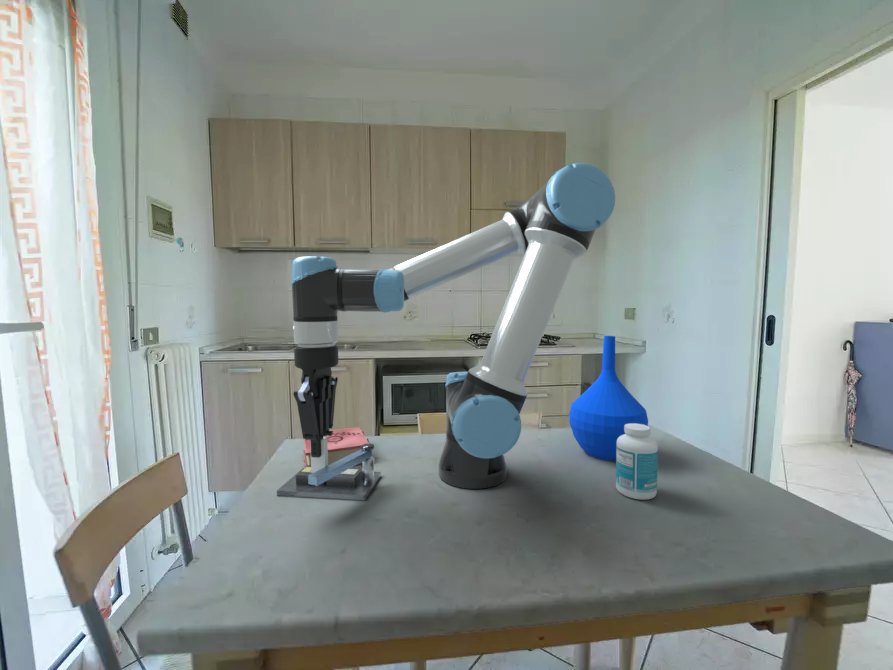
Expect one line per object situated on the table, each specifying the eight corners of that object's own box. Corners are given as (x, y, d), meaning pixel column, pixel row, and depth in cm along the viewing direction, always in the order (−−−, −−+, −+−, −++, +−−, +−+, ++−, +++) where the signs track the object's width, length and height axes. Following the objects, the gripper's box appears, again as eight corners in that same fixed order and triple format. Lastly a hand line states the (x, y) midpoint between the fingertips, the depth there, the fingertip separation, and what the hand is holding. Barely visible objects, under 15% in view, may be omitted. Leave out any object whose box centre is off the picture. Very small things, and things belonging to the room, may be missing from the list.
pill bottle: (655, 488, 81) (657, 423, 80) (657, 504, 74) (660, 434, 73) (615, 481, 84) (617, 419, 83) (614, 496, 77) (616, 429, 77)
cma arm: (367, 452, 83) (366, 442, 83) (376, 454, 82) (376, 444, 82) (307, 483, 69) (306, 471, 68) (318, 486, 67) (317, 474, 67)
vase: (565, 439, 111) (567, 333, 109) (635, 443, 107) (639, 334, 105) (572, 465, 93) (575, 338, 91) (657, 471, 89) (661, 339, 87)
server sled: (381, 476, 87) (381, 448, 87) (365, 500, 76) (364, 468, 76) (303, 472, 89) (302, 445, 89) (276, 495, 78) (275, 464, 78)
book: (373, 463, 95) (373, 443, 95) (306, 474, 89) (305, 452, 89) (362, 444, 108) (362, 426, 108) (303, 452, 103) (302, 433, 102)
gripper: (313, 340, 78) (316, 456, 80) (276, 348, 65) (281, 486, 67) (349, 341, 77) (352, 458, 79) (320, 349, 64) (323, 489, 66)
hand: (319, 471), depth 73 cm, fingers closed
